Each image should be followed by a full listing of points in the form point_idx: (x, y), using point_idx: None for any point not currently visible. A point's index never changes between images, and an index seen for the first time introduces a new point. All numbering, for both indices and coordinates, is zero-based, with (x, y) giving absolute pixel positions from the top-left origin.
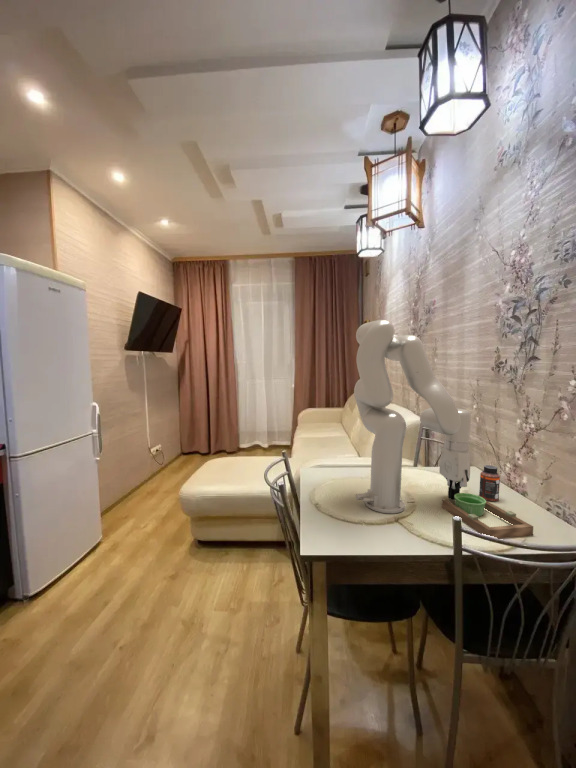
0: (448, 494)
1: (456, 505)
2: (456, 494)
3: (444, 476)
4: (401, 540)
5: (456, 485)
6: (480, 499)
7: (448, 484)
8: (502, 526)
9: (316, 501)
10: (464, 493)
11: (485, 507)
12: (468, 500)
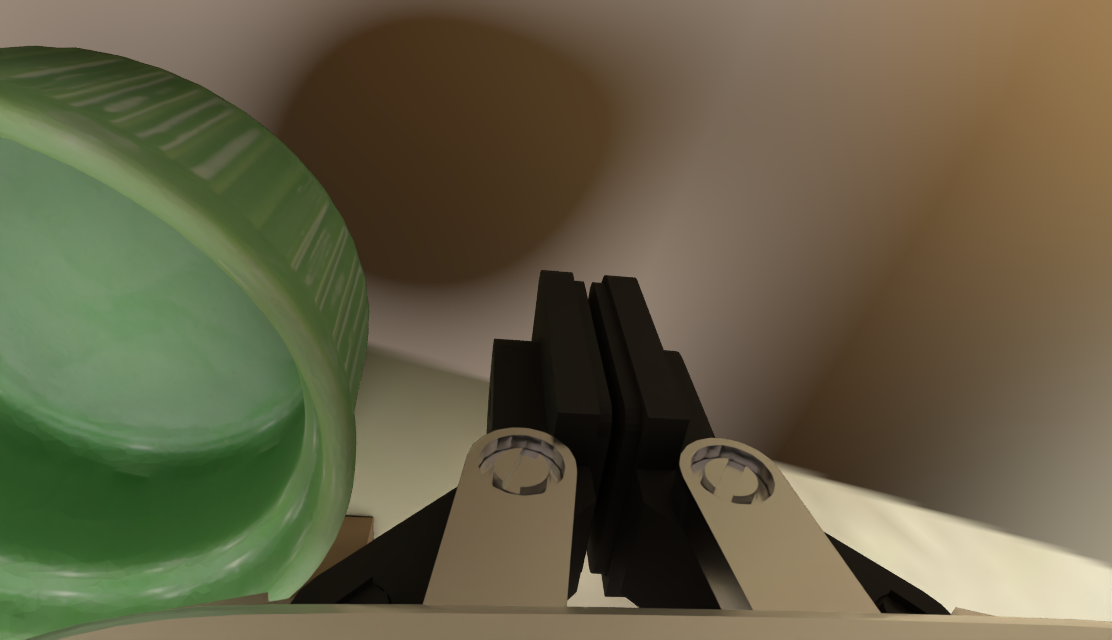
0: (633, 308)
1: (83, 71)
2: (269, 316)
3: (982, 619)
4: None
5: (428, 563)
6: (85, 606)
7: (742, 480)
8: None
9: None
10: (317, 520)
11: None
12: (285, 461)
